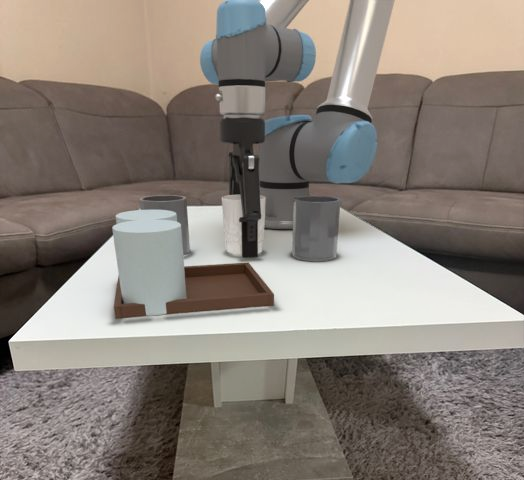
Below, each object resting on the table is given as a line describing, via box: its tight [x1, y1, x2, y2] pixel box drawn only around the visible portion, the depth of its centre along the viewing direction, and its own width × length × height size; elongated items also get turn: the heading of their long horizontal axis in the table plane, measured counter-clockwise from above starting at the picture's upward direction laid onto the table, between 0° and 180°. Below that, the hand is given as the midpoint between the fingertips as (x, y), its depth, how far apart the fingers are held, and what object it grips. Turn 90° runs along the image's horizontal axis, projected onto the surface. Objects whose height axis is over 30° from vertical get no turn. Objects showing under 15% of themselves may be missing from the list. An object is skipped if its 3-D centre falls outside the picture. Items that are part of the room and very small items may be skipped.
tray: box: [113, 262, 275, 320], centre depth 63 cm, size 20×16×2 cm
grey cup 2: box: [291, 195, 341, 263], centre depth 81 cm, size 8×8×10 cm
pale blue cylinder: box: [111, 219, 187, 317], centre depth 56 cm, size 8×8×10 cm
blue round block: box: [115, 209, 177, 224], centre depth 63 cm, size 8×8×10 cm
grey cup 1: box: [139, 194, 191, 256], centre depth 82 cm, size 8×8×10 cm
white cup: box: [220, 194, 266, 256], centre depth 83 cm, size 8×8×10 cm
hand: (244, 251), depth 85 cm, fingers open, 9 cm apart
